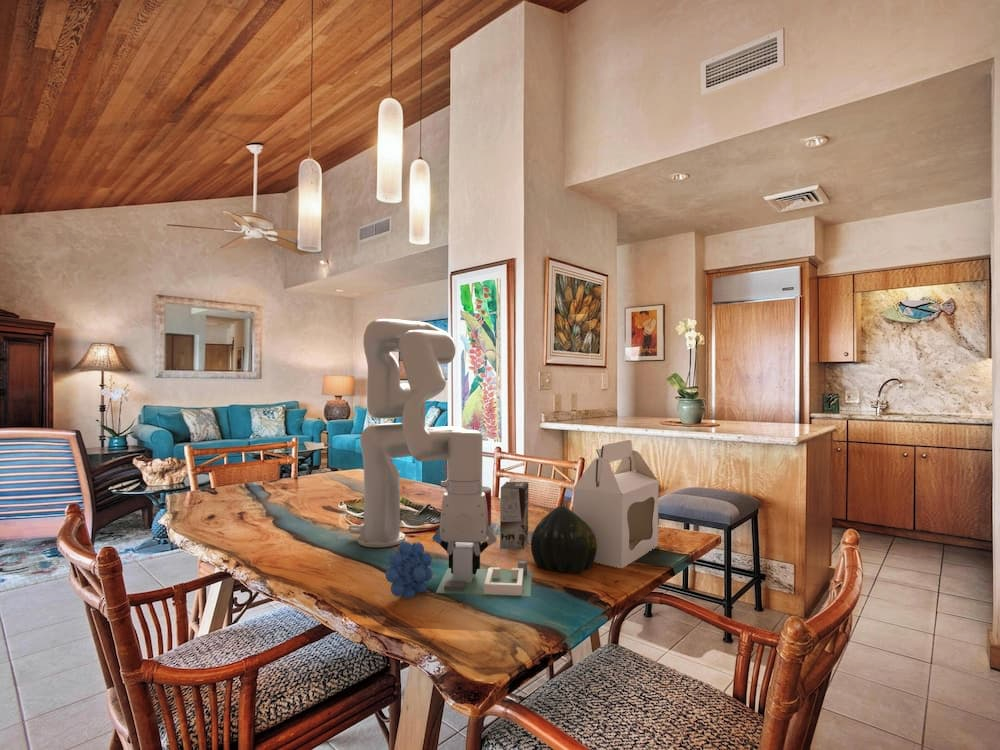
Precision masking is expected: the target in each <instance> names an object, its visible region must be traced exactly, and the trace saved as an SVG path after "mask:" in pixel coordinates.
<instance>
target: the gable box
mask: <svg viewBox="0 0 1000 750" xmlns="http://www.w3.org/2000/svg"><path fill="white" fill-rule="evenodd" d="M595 451H596V454H597V455H598V457H596V458H594V459H593V460H592V461H591V462H590V464H589V465H588V467H587V468H586V470H585V471H584V472H583V474H582V475H581V477H580V478H579V479H578V481H577V482H576V484H575V485H574V486H573V490H572V491H573V495H572V496H573V497H572V499H573V501H572V502H573V504H572V505H573V507H572V508H573V511H572V512H573V513H575V514H576V515H577V516H578V517H580V518H581V519H582V520H583V521H584V522H585V523H586V524H587V525H588V526H589V527H590V528H591V530H592V531H593V533H594V535H595V538H596V543H597V550H596V556H595V559H594V562H593V563H595V562H596V563H597V564H599V563H600V565H603V566H609V567H612V566H613V567H612V568H616V567H617V569H620V568H622V569H623V568H626V567H627V566H629V565H630V564H632V563H633V562H635V561H637V560H638V559H640V558H642V557H643V556H645V555H646V554H648V553H649V551H650V552H651V551H653V550H655V549H656V548H658V547H659V480H658V479H657V477H656V476H655V475H654V473H653V472H652V470H651V468H650V467H649V466H648V464H647V463H646V461H645V459H643V457H642V455H641V453H640V452H638V451H636V450H634V449H633V441H632V440H631V439H626V440H623V441H617V442H612V443H607V444H603V445H602V446H601V448H598V449H595ZM620 460H621V461H620ZM616 461H620V463H619V464H618V466H617V468H616V470H615V473H614V472H613V470H612V469H613V468H612V467H611V465H610V463H612V462H616ZM636 541H637V542H636ZM657 546H658V547H657ZM652 549H653V550H652ZM628 564H629V565H628Z"/></svg>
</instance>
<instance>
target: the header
mask: <svg viewBox="0 0 1000 750" xmlns="http://www.w3.org/2000/svg"><path fill="white" fill-rule="evenodd" d="M501 568H502V567H496V566H495V567H489V566H488V572H487V576H486V579H485V583H484V594H495V595H494V596H502V595H522V587H523V568H518V567H512V568H511V569H510V570H511V579H517V583H495V582H492V580H493V578H497V579H500V577H501V570H502V569H501Z"/></svg>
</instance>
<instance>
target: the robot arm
mask: <svg viewBox="0 0 1000 750" xmlns="http://www.w3.org/2000/svg"><path fill="white" fill-rule="evenodd" d="M363 349H364V354H365V359H366V363H367V388H366V389H367V391H366V393H367V394H366V401H367V402H366V405H367V412H368V414H369V415H370V416H371V417H372V418H374V419H379V420H381V419H387V420H389V419H401V422H395V423H394V422H388V423H387V422H386V423H378V424H377V423H376V424H373V425H372V424H371V425H369V426H367V427H366V428H364V429H363V431H362V432H361V434H360V439H359V440H360V441H359V443H360V444H359V445H360V449H361V450H360V451H361V456H362V462H363V465H362V466H363V523H360V524H353V523H352V524H349V526H348V531H349V533H350V534H358V536H357V544H358V545H360V546H362V547H367V548H388V547H393V546H398V545H400V544H401V543H402V542H406V534H405V533H403V532H402V531H400V529H401V528H400V527H401V526H400V517H401V516H400V515H401V514H400V512H401V510H400V509H401V508H400V507H401V506H400V505H401V504H400V503H401V498H400V496H401V495H400V494H401V482H400V481H401V478H400V477H401V475H400V472H399V470H398V468H397V467H396V465H395V463H394V462H393V459H396V458H407V457H408V458H409V457H412V458H413V459H414V460H415V461H417V462H421V463H423V462H424V463H425V462H435V461H446V460H447V479H446V480H444V481H443V480H442V481H441V482H440V488H444V489H445V490H446V492H444V493H443V496H442V501H441V508H440V521H439V523H440V524H439V527H438V529H437V530H436V531H435V533H434V535H433V536H432V540H433V541H434V542H435V543H437V544H438V545H440V546H441V548H443V550H444V551H446V554H447V555H448V568H451V574H453V548H454V546H455V544H456V542H467V543H473V546H474V555H473V574H476V572H477V569H481V554H482V553H483V552H484V551H485V550H486V549H487V548H488V547H490V546H492V544H494V543H496V541H497V536H496V534H495V532H493V530H492V528H491V525H490V526H489V525H488V510H487V502H486V496H485V493H484V492H482V486H483V435H482V433H481V431H479V430H476V429H466V428H464V427H461V426H459V425H448V426H430V427H429V426H428V427H426V402H427V401H428V400H430V399H432V398H435V397H436V396H438V395H439V394H441V393H442V392H443V391H444V390H445V388H446V383H447V382H446V379H445V376H444V373H443V370H442V366H441V365H448V364H450V363H451V362H452V361H453V360H454V358H455V355H456V344H455V341H454V339H453V337H452V336H451V335H450V334H449V333H448V332H447V331H446V330H443V329H441V328H439V327H437V326H435V325H432V324H430V323H428V322H425V321H416V320H404V319H395V318H394V319H393V318H379V319H375V320H373V321H370V322H369V323H368V325H367V326H366V328H365V330H364V334H363ZM393 352H394V353H395V352H396V353H399V355H400V358H401V362H402V365H403V367H404V373H405V376H406V378H407V383H401V379H400V377H401V367H400V365H399V362H398V360H397V358H396V357H395V356H394V354H393Z"/></svg>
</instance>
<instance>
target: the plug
mask: <svg viewBox="0 0 1000 750" xmlns="http://www.w3.org/2000/svg"><path fill="white" fill-rule="evenodd" d="M473 555H474V546H473V543H467V542H456V543H455V546H454V548H453V581H466V582H471V583H472V580H473V577H474V574H473Z"/></svg>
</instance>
